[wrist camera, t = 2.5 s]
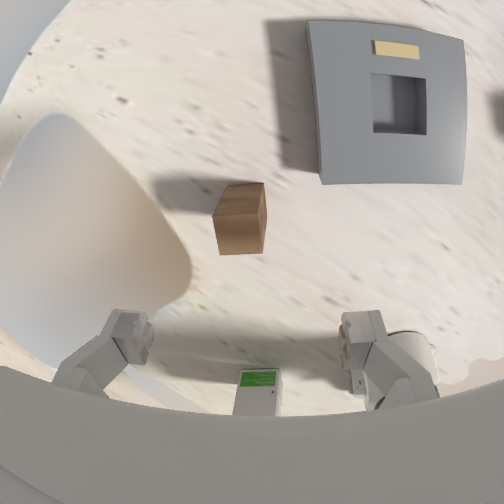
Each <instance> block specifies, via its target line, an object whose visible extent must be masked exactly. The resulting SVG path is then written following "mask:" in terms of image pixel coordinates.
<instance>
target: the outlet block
mask: <svg viewBox="0 0 504 504" xmlns="http://www.w3.org/2000/svg"><path fill="white" fill-rule="evenodd" d="M306 35H307V42H308V50H309V59H310V67H311V77H312V87H313V97H314V109H315V122H316V137H317V153H318V174H319V177H320V180H321V182H322V185H332V184H374V183H414V184H454V185H462V179H463V170H464V160H465V148H466V132H467V79H466V63H465V52H464V42H463V40H461V39H458V38H454V37H450V36H446V35H442V34H437V33H433V32H428V31H423V30H418V29H412V28H406V27H399V26H392V25H384V24H375V23H364V22H349V21H308V23H307V26H306Z"/></svg>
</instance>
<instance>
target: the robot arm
mask: <svg viewBox="0 0 504 504" xmlns="http://www.w3.org/2000/svg"><path fill="white" fill-rule="evenodd" d="M147 320H148V316H147V314H146V312H142V311H131V310H119V309H114V310H113V311H112V312H111V314H110V316H109V318H108V320H107V322H106V324H105V326H104V328H103V330H102V332H101V334H100V336H96V337H95V338H93V339H92V340H90V341H89V342H88V343H86V344H85V345H84V346H82V347H81V348H80V349H78V350H77V351H76V352H74V353H73V354H72V355H70V356H69V357H68V358H66V359H65V360H64V361H62V362H61V364H60V366H59V368H58V370H57V372H56V374H55V376H54V379H53V381H52V383H50V382H47V381H44V380H41V379H38V378H35V377H32V376H30V375H27V374H24V373H21V372H19V371H16V370H14V369H11V368H9V367H6V366H0V504H504V379H503V380H498V381H496V382H493V383H490V384H487V385H484V386H480V387H477V388H474V389H471V390H467V391H464V392H460V393H457V394H453V395H449V396H445V397H441V398H440V394H439V392H438V390H437V387H436V386H437V384H438V383H439V375H438V371H437V367H436V363H435V359H434V356H435V355H436V353H437V350H436V347H435V346H433V345H430V344H429V343H428V341H427V339H426V337H425V336H423V335H422V334H419V333H416V332H402V333H397V334H393V335H390V336H388V335H387V331H386V328H385V325H384V322H383V319H382V316H381V313H380V311H379V310H373V311H358V312H343V314H342V318H341V320H342V325H341V326H340V327H339V334H338V341H339V348H340V349H341V350H342V354H341V361H342V367H343V370H351V377H352V386H353V394H354V397H356V398H361V399H364V402H365V408H366V410H367V411H362V412H353V413H343V414H331V415H315V416H288V417H260V416H232V415H217V414H205V413H194V412H185V411H177V410H169V409H162V408H156V407H150V406H144V405H138V404H133V403H127V402H122V401H118V400H113V399H110V398H109V396H108V395H107V394H106V393H105V392H104V391H103V389H104V388H105V387H106V386H107V385H108V384H109V383H110V382H111V381H112V380H113V379H114V378H115V377H116V376H117V375H118V374H119V373H120V372H121V371H122V370H123V369H124V368H125V367H126V366H127V365H128V363H129V364H139V365H145V363H146V360H147V357H148V354H149V352H148V350H147V348H149V347H150V346H151V345H152V342H153V337H154V332H153V328H152V325H151V324H150V323H149V322H147Z"/></svg>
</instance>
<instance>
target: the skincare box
mask: <svg viewBox="0 0 504 504" xmlns="http://www.w3.org/2000/svg"><path fill="white" fill-rule="evenodd" d="M282 393H283V382H282V378H281V374H280V371H279V369H255V370H240V374H239V380H238V386H237V392H236V397H235V403H234V409H233V414H232V416H260V417H281V406H282Z"/></svg>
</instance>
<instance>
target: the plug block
mask: <svg viewBox="0 0 504 504" xmlns="http://www.w3.org/2000/svg"><path fill="white" fill-rule="evenodd" d="M212 218H213V223H214V228H215V233H216V238H217V243H218V248H219V253H220V255H238V254H259V253H263V246H264V238H265V230H266V222H267V209H266V199H265V190H264V183H256V184H243V185H232V186H227V188H226V190H225V192H224V194H223V196H222V198H221V200H220V202H219V204H218V206H217V208H216V210H215V212H214V214H213V216H212Z"/></svg>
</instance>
